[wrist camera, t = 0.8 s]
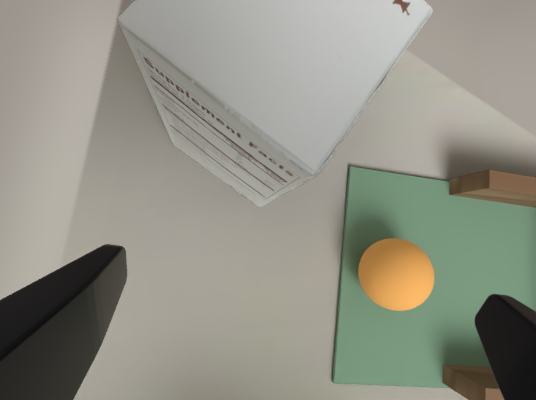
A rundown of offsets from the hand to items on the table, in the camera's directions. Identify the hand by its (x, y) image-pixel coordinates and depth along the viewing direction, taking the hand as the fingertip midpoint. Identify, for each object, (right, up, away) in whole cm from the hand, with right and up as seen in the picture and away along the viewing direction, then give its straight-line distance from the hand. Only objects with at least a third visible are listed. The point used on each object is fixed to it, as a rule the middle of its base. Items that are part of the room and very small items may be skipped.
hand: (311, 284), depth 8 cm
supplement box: (-3, +6, +14) cm, 16 cm away
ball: (+6, -3, +14) cm, 16 cm away
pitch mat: (+13, -4, +16) cm, 21 cm away
